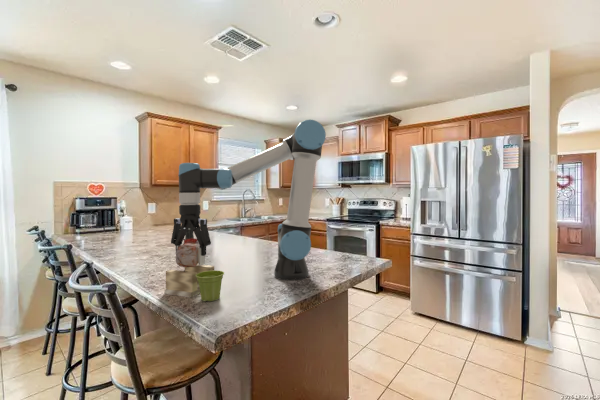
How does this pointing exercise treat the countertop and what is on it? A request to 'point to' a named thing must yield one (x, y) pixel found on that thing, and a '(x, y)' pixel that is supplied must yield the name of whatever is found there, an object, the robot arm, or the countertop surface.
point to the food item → (188, 253)
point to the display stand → (185, 281)
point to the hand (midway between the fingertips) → (190, 263)
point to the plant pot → (210, 284)
